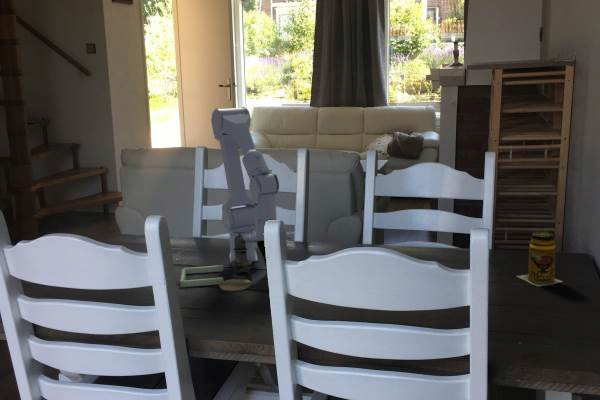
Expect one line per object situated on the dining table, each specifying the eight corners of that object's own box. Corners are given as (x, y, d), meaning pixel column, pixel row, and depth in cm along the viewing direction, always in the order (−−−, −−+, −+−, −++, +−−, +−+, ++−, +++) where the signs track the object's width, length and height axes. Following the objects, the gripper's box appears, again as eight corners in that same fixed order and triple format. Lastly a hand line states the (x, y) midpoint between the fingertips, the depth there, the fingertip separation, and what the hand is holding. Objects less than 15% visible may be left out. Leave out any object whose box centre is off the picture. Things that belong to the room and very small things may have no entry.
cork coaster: (219, 281, 159) (219, 280, 159) (250, 279, 160) (250, 277, 160) (219, 292, 151) (219, 290, 151) (251, 289, 152) (251, 287, 152)
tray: (183, 273, 167) (182, 268, 167) (223, 270, 169) (222, 265, 168) (180, 287, 156) (180, 281, 156) (223, 283, 157) (223, 278, 157)
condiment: (539, 287, 146) (541, 239, 143) (515, 277, 154) (517, 231, 151) (563, 282, 148) (565, 235, 146) (538, 272, 156) (540, 227, 154)
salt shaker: (249, 279, 160) (246, 235, 158) (228, 278, 161) (225, 235, 159) (255, 272, 166) (253, 229, 163) (234, 271, 167) (232, 229, 165)
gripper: (238, 224, 157) (242, 274, 159) (294, 220, 158) (296, 269, 161) (238, 217, 163) (241, 266, 166) (291, 214, 165) (293, 262, 168)
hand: (268, 267), depth 164 cm, fingers closed
